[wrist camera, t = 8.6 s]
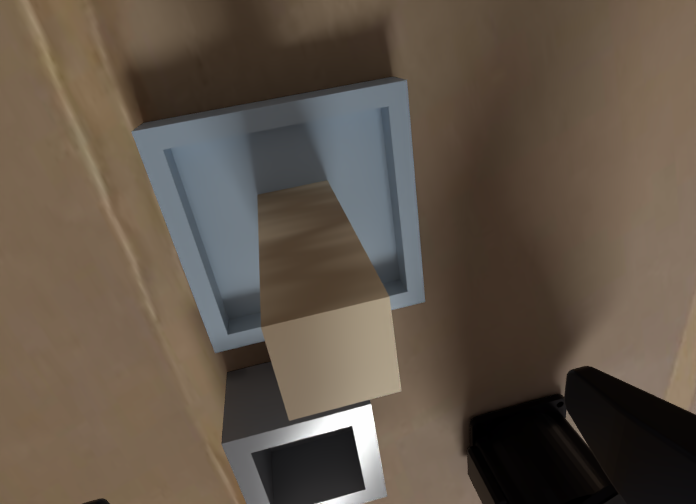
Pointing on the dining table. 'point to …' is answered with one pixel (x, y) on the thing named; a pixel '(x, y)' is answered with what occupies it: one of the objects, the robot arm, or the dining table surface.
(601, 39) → the dining table surface
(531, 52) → the dining table surface
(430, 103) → the dining table surface
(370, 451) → the block with square hole
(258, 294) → the grey flat frame
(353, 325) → the peg
